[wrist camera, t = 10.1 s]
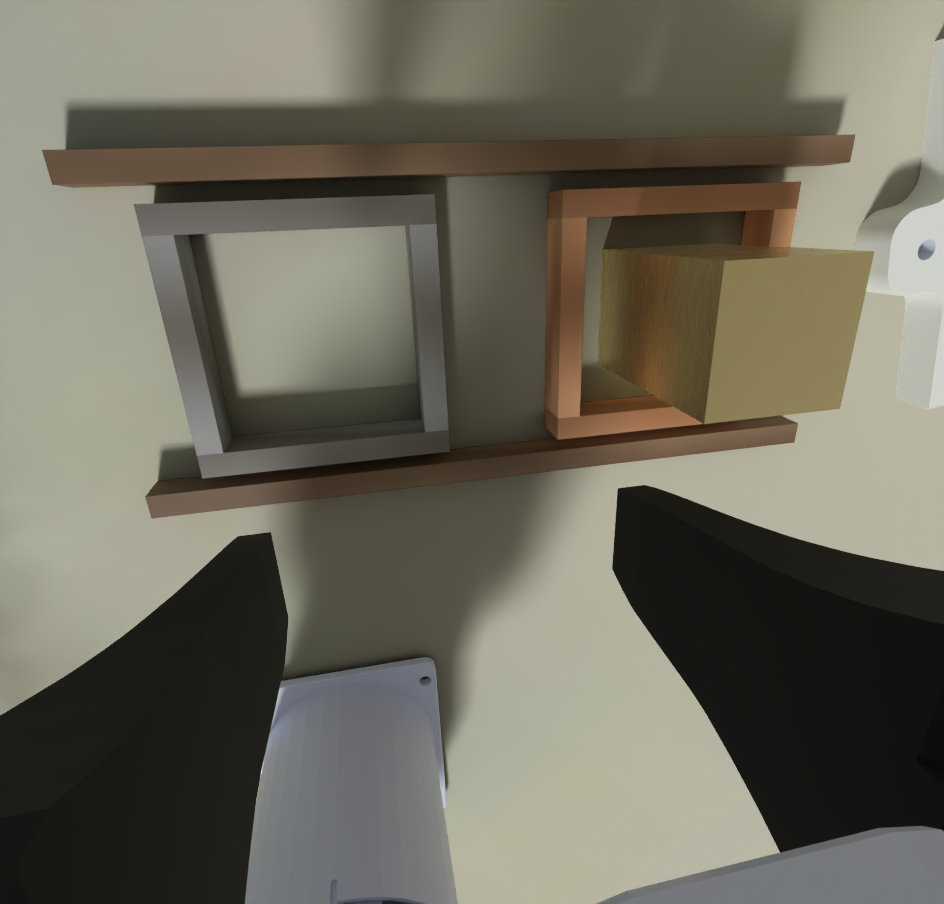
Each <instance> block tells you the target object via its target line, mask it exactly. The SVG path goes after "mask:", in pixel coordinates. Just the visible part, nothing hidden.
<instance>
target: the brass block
mask: <svg viewBox="0 0 944 904" xmlns="http://www.w3.org/2000/svg"><path fill="white" fill-rule="evenodd" d="M874 252H875V251H857V250H836V249H815V248H794V247H773V246H752V245H731V244H711V243H706V244H689V245H672V246H655V247H638V248H620V249H603V250H602V271H601V294H600V317H599V340H598V362H597V363H598V364H599V365H601V366H603V367H605V368H606V369H608V370H610V371H612V372H614V373H615V374H617V375H619V376H621V377H622V378H624V379H626V380H628V381H629V382H631V383H633V384H635V385H636V386H638V387H640V388H642V389H643V390H645V391H647V392H649V393H650V394H652V395H654V396H656V397H657V398H659V399H661V400H663V401H664V402H666V403H668V404H670V405H671V406H673V407H675V408H677V409H679V410H680V411H682V412H684V413H686V414H687V415H689V416H691V417H693V418H694V419H696V420H698V421H700V422H701V423H703V424H709V423H718V422H727V421H736V420H745V419H753V418H762V417H771V416H780V415H788V414H797V413H806V412H815V411H823V410H832V409H840V405H841V401H842V396H843V392H844V387H845V383H846V378H847V374H848V369H849V365H850V360H851V356H852V351H853V347H854V342H855V338H856V333H857V329H858V324H859V320H860V315H861V311H862V306H863V302H864V297H865V292H866V288H867V283H868V279H869V274H870V270H871V265H872V261H873V256H874Z"/></svg>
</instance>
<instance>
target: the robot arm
mask: <svg viewBox="0 0 944 904" xmlns="http://www.w3.org/2000/svg"><path fill="white" fill-rule="evenodd" d="M612 569H613V571H614V573H615V575H616V577H617V579H618V581H619V583H620V586H621V588H622V590H623V591H624V593H625V595H626V597H627V599H628V601H629V603H630V605H631V606H632V608H633V609H634V611H635V612H636V614H637V615H638V617H639V618H640V620H641V621H642V622H643V624H644V625H645V627H646V628H647V630H648V631H649V632H650V634H651V635H652V637H653V638H654V640H655V641H656V642H657V644H658V645H659V646H660V648H661V649H662V651H663V652H664V653H665V655H666V656H667V658H668V659H669V660H670V662H671V663H672V665H673V666H674V667H675V669H676V670H677V672H678V673H679V674H680V676H681V677H682V678H683V680H684V681H685V683H686V684H687V685H688V687H689V688H690V690H691V691H692V693H693V694H694V696H695V697H696V699H697V700H698V702H699V703H700V705H701V706H702V708H703V709H704V711H705V713H706V714H707V716H708V718H709V720H710V721H711V723H712V725H713V727H714V728H715V730H716V732H717V734H718V735H719V737H720V739H721V741H722V742H723V744H724V746H725V748H726V749H727V751H728V753H729V755H730V756H731V758H732V760H733V762H734V764H735V766H736V768H737V769H738V771H739V773H740V775H741V777H742V779H743V781H744V783H745V784H746V786H747V788H748V790H749V792H750V794H751V796H752V798H753V799H754V801H755V803H756V805H757V807H758V809H759V811H760V813H761V815H762V817H763V819H764V821H765V823H766V825H767V827H768V829H769V831H770V833H771V835H772V837H773V839H774V841H775V843H776V845H777V847H778V849H779V851H780V853H777V854H773V855H769V856H765V857H761V858H757V859H753V860H749V861H745V862H741V863H737V864H733V865H729V866H725V867H721V868H717V869H713V870H709V871H705V872H701V873H697V874H693V875H689V876H685V877H681V878H677V879H673V880H669V881H665V882H661V883H657V884H653V885H649V886H645V887H641V888H637V889H633V890H629V891H626V892H623V893H621V894H619V895H616V896H614V897H611V898H609V899H607V900H604V901H602V902H599V903H597V904H944V571H939V570H933V569H927V568H921V567H915V566H909V565H904V564H899V563H894V562H889V561H884V560H879V559H874V558H869V557H865V556H860V555H856V554H852V553H847V552H843V551H840V550H836V549H832V548H828V547H825V546H821V545H817V544H813V543H810V542H806V541H803V540H799V539H796V538H793V537H789V536H786V535H783V534H780V533H777V532H774V531H771V530H768V529H765V528H762V527H759V526H756V525H754V524H751V523H748V522H745V521H742V520H740V519H737V518H734V517H732V516H729V515H726V514H724V513H721V512H719V511H716V510H713V509H711V508H708V507H706V506H703V505H700V504H698V503H695V502H693V501H690V500H688V499H685V498H682V497H680V496H677V495H674V494H672V493H669V492H666V491H663V490H660V489H657V488H654V487H650V486H646V485H642V486H634V487H626V488H619V489H618V495H617V509H616V524H615V538H614V553H613V567H612ZM287 629H288V614H287V609H286V604H285V599H284V594H283V590H282V585H281V580H280V575H279V570H278V565H277V560H276V556H275V551H274V546H273V541H272V536H271V532H270V533H262V534H254V535H246V536H238V537H237V538H236V539H234V540H233V541H232V542H231V543H230V544H228V545H227V546H226V547H225V548H224V549H223V550H222V551H221V552H220V553H219V554H217V555H216V556H215V557H214V558H213V559H212V560H211V561H210V562H209V563H208V564H207V565H206V566H205V567H204V568H202V569H201V570H200V571H199V572H198V573H197V574H196V575H195V576H194V577H193V578H192V579H190V580H189V581H188V582H187V583H186V584H185V585H184V586H183V587H182V588H181V589H179V590H178V591H177V592H176V593H175V594H174V595H173V596H171V597H170V598H169V599H168V600H167V601H165V602H164V603H163V604H162V605H161V606H159V607H158V608H157V609H156V610H155V611H153V612H152V613H151V614H150V615H149V616H147V617H146V618H145V619H144V620H142V621H141V622H140V623H139V624H138V625H136V626H135V627H134V628H133V629H131V630H130V631H129V632H128V633H126V634H125V635H124V636H122V637H121V638H120V639H118V640H117V641H116V642H114V643H113V644H112V645H110V646H109V647H107V648H106V649H105V650H103V651H102V652H100V653H99V654H97V655H96V656H95V657H93V658H92V659H90V660H89V661H87V662H86V663H84V664H83V665H82V666H80V667H79V668H77V669H76V670H74V671H73V672H71V673H70V674H68V675H67V676H65V677H63V678H62V679H60V680H58V681H57V682H55V683H53V684H52V685H50V686H48V687H47V688H45V689H44V690H42V691H40V692H39V693H37V694H35V695H34V696H32V697H30V698H29V699H27V700H25V701H24V702H22V703H20V704H19V705H17V706H16V707H14V708H12V709H11V710H9V711H7V712H6V713H4V714H2V715H0V904H458V902H457V895H456V889H455V882H454V875H453V869H452V862H451V855H450V848H449V842H448V835H447V828H446V821H445V815H444V808H445V807H446V805H447V799H446V787H445V775H444V763H443V751H442V739H441V727H440V715H439V703H438V691H437V679H436V668H435V664H434V661H433V660H432V659H430V658H427V657H422V658H416V659H410V660H404V661H398V662H392V663H386V664H380V665H374V666H368V667H362V668H356V669H350V670H345V671H339V672H333V673H327V674H321V675H315V676H309V677H303V678H297V679H291V680H285V681H281V679H282V674H283V669H284V664H285V654H286V643H287ZM424 676H428V678H426V679H421V678H422V677H424ZM260 775H261V780H260ZM259 781H260V785H259ZM258 787H259V791H258ZM257 792H258V797H257ZM256 798H257V803H256ZM255 805H256V808H255Z"/></svg>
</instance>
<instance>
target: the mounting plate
mask: <svg viewBox="0 0 944 904" xmlns="http://www.w3.org/2000/svg"><path fill="white" fill-rule="evenodd" d="M854 250H857V251H875V252H874V256H873V261H872V265H871V270H870V274H869V279H868V283H867V288H866V291H867V292H874V293H882V294H890V295H898V296H904V298H905V315H904V324H903V333H902V342H901V351H900V361H899V370H898V379H897V388H896V397H895V399H897V400H901V401H904V402H907V403H910V404H913V405H916V406H919V407H923V408H926V409H932V408H936V407H939V406H942V405H944V39H940V40H937V41H935V43H934V52H933V61H932V70H931V79H930V88H929V97H928V106H927V115H926V124H925V133H924V143H923V152H922V161H921V170H920V175H919V179H918V182H917V184H916V187H915V188H914V190H913V191H912V193H911V194H910V195H909V196H908V197H907V198H906V199H905V200H904V201H903V202H901V203H900V204H898V205H895V206H892V207H888V208H884V209H881V210H878V211H876V212H874V213H872V214H871V215H870V216H868V217H867V218H866V219H865V221H864V222H863V223H862V225H861V226H860V228H859V230H858V232H857V235H856V239H855V246H854Z"/></svg>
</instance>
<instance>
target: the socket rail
mask: <svg viewBox="0 0 944 904" xmlns="http://www.w3.org/2000/svg"><path fill="white" fill-rule="evenodd" d="M854 139H855V135H808V136H756V137H704V138H651V139H599V140H546V141H494V142H442V143H389V144H337V145H284V146H232V147H179V148H127V149H75V150H42V152H43V155H44V158H45V162H46V165H47V168H48V172H49V175H50V178H51V182H52V185H59V186H66V187H107V186H142V185H176V184H210V183H245V182H279V181H314V180H348V179H383V178H417V177H451V176H486V175H520V174H555V173H589V172H624V171H658V170H692V169H727V168H761V167H796V166H824V165H832V164H840V163H847V162H850V159H851V154H852V149H853V144H854ZM800 186H801V182H777V183H748V184H719V185H689V186H660V187H630V188H601V189H572V190H559V191H553V192H548V196H547V278H546V361H545V427H546V428H547V429H548V430H549V431H550V432H551V433H552V434H553V435H554V436H555V438H553V439H544V440H534V441H525V442H516V443H507V444H498V445H488V446H479V447H470V448H461V449H452V450H450V444H449V427H448V410H447V393H446V376H445V359H444V342H443V325H442V308H441V291H440V274H439V257H438V240H437V223H436V206H435V194H425V195H395V196H366V197H336V198H307V199H278V200H248V201H219V202H189V203H160V204H134V207H135V211H136V215H137V219H138V223H139V227H140V231H141V235H142V239H143V243H144V247H145V251H146V255H147V259H148V263H149V267H150V271H151V275H152V279H153V283H154V287H155V291H156V295H157V299H158V303H159V307H160V311H161V315H162V319H163V323H164V327H165V331H166V335H167V339H168V343H169V347H170V351H171V355H172V359H173V363H174V367H175V371H176V375H177V379H178V383H179V387H180V391H181V395H182V399H183V403H184V407H185V411H186V415H187V419H188V423H189V427H190V431H191V435H192V439H193V443H194V447H195V451H196V455H197V459H198V463H199V467H200V471H201V475H202V477H194V478H185V479H175V480H166V481H157V483H156V484H155V485H154V486H153V488H152V489H151V490H150V492H149V493H148V494H147V495H146V501H147V504H148V507H149V511H150V514H151V518H159V517H167V516H176V515H184V514H193V513H201V512H210V511H218V510H226V509H235V508H243V507H252V506H260V505H269V504H277V503H286V502H294V501H303V500H311V499H319V498H328V497H336V496H345V495H353V494H362V493H370V492H379V491H387V490H396V489H404V488H412V487H421V486H429V485H438V484H446V483H455V482H463V481H472V480H480V479H489V478H497V477H505V476H514V475H522V474H531V473H539V472H548V471H556V470H565V469H573V468H581V467H590V466H598V465H607V464H615V463H624V462H632V461H641V460H649V459H658V458H666V457H674V456H683V455H691V454H700V453H708V452H717V451H725V450H734V449H742V448H751V447H759V446H767V445H776V444H784V443H793V442H794V441H795V436H796V431H797V426H798V423H796V422H793V421H791V420H789V419H787V418H785V417H782V416H771V417H762V418H753V419H745V420H736V421H727V422H718V423H709V424H703V423H701V422H700V421H698V420H696V419H694V418H693V417H691V416H689V415H687V414H686V413H684V412H682V411H680V410H679V409H677V408H675V407H673V406H671V405H670V404H668V403H666V402H664V401H663V400H661V399H659V398H657V397H656V396H654V395H652V396H642V397H632V398H621V399H611V400H601V401H591V402H581V403H580V394H581V368H582V341H583V314H584V288H585V261H586V235H587V217H610V216H634V215H657V214H681V213H704V212H728V211H746V213H745V220H744V227H743V235H742V242H741V245H752V246H773V247H790V244H791V239H792V233H793V227H794V221H795V215H796V209H797V203H798V198H799V192H800ZM400 225H406V238H407V251H408V263H409V276H410V289H411V301H412V314H413V327H414V339H415V352H416V365H417V378H418V390H419V403H420V416H421V418H419V419H409V420H398V421H388V422H378V423H368V424H358V425H348V426H338V427H327V428H317V429H307V430H297V431H287V432H277V433H267V434H256V435H246V436H236V437H233V435H232V431H231V426H230V422H229V417H228V413H227V408H226V403H225V399H224V394H223V390H222V385H221V381H220V376H219V372H218V367H217V362H216V358H215V353H214V349H213V344H212V340H211V335H210V331H209V326H208V321H207V317H206V312H205V308H204V303H203V299H202V294H201V290H200V285H199V280H198V276H197V271H196V267H195V262H194V258H193V253H192V249H191V244H190V239H189V234H212V233H235V232H259V231H282V230H306V229H329V228H353V227H376V226H400Z"/></svg>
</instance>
